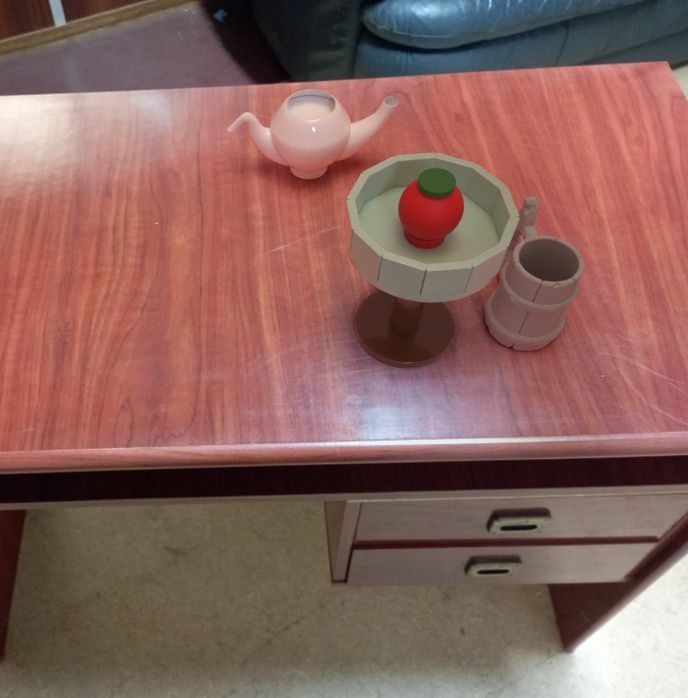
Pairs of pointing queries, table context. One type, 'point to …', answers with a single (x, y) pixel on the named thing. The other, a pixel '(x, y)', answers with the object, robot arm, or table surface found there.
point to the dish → (422, 256)
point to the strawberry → (430, 208)
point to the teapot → (313, 131)
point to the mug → (533, 286)
